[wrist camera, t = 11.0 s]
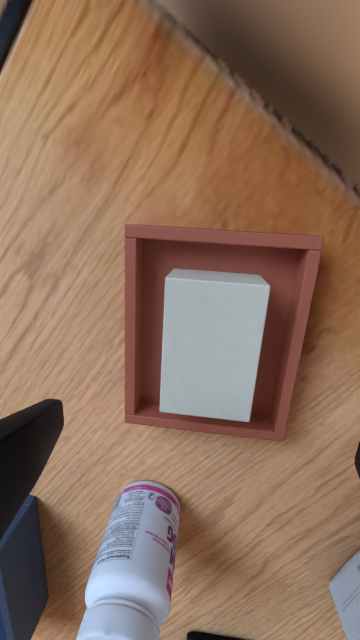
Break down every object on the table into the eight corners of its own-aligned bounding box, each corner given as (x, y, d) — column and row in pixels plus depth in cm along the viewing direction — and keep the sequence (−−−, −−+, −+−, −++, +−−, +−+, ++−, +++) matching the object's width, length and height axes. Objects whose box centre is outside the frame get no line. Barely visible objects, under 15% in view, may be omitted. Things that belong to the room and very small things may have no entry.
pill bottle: (193, 517, 22) (181, 685, 14) (138, 534, 23) (99, 698, 15) (161, 469, 21) (128, 621, 13) (106, 489, 22) (44, 640, 14)
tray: (276, 420, 19) (283, 442, 17) (133, 403, 19) (124, 423, 18) (311, 235, 15) (325, 236, 13) (134, 224, 16) (124, 224, 14)
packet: (243, 391, 18) (249, 422, 15) (167, 383, 18) (159, 412, 15) (260, 274, 16) (271, 285, 13) (173, 268, 16) (165, 277, 13)
